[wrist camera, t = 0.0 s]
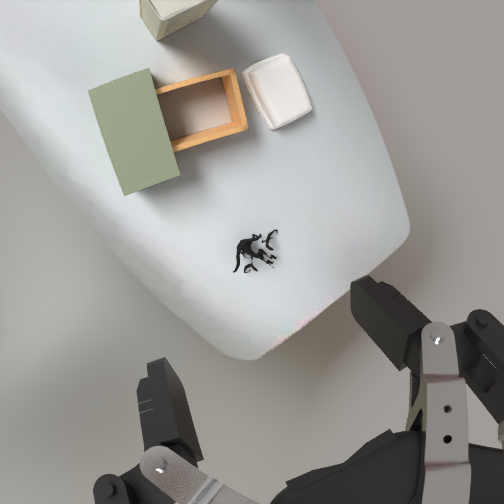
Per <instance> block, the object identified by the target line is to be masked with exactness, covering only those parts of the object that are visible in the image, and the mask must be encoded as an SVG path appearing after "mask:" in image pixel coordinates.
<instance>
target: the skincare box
mask: <svg viewBox="0 0 504 504" xmlns="http://www.w3.org/2000/svg"><path fill="white" fill-rule="evenodd" d="M217 1H218V0H139V4H140V17H141V18H142V20H143V21H144V23H145V25H146V26H147V28H148V29H149V31H150V32H151V34H152V35H153V37H154V38H155V40H156V41H159V40H160V39H162V38H164V37H166V36H168V35H170V34H172V33H174V32H175V31H177V30H179V29H181V28H183V27H185V26H187V25H189V24H191V23H193V22H195V21H196V20H198V19H200V18H202V17H203V16H204V15H205V14H206V13H207V12H208V11H209V10H210V9H211V7H212V6H213V5H214V4H215V3H216V2H217Z"/></svg>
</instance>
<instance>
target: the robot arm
mask: <svg viewBox="0 0 504 504" xmlns="http://www.w3.org/2000/svg"><path fill="white" fill-rule="evenodd" d="M350 287H351V312H352V315H353V317H354V319H355V320H356V321H357V323H358V324H359V325H360V326H361V327H362V328H363V329H364V331H365V332H366V333H367V334H368V335H369V336H370V337H371V338H372V340H373V341H374V342H375V343H376V344H377V346H378V347H379V348H380V349H381V350H382V351H383V352H384V354H385V355H386V356H387V357H388V358H389V360H390V361H391V362H392V363H393V364H394V366H395V367H396V368H397V369H398V370H399V371H401V370H402V369H404V368H405V367H408V368H409V369H410V370H411V371H410V394H409V395H410V396H409V413H408V418H407V422H406V429H405V431H402V432H397V433H392V431H391V430H390V429H389V430H387V431H385V432H384V433H382V434H381V435H379V436H377V437H376V438H374V439H372V440H370V441H369V442H367V443H366V444H364V445H363V446H362V447H361V448H360V449H359V450H358V451H357V452H356V453H355V454H353V455H352V456H351V457H350V458H349V459H348V460H347V461H345V462H344V463H341V464H338V465H334V466H330V467H325V468H320V469H316V470H312V471H310V472H307V473H305V474H303V475H301V476H298V477H296V478H294V479H291V480H289V481H286V484H287V487H286V488H285V489H283V490H282V491H281V492H280V493H279V494H277V495H276V497H275V498H274V499H273V500H272V501H271V503H270V504H504V326H503V325H502V324H501V323H500V322H499V321H498V320H497V319H496V318H495V317H494V316H493V315H492V314H491V313H490V312H488V311H486V310H481V309H478V310H474V311H472V312H471V313H470V314H469V316H468V318H467V321H466V322H462V323H459V324H455V325H452V326H448V325H446V324H444V323H441V322H431V321H430V320H429V319H428V318H427V317H426V316H425V315H424V314H423V313H422V312H420V311H419V310H418V309H417V308H416V307H415V306H414V305H413V304H412V303H411V302H410V301H407V299H406V298H405V297H404V296H403V295H401V294H400V292H399V291H398V290H396V289H395V288H394V287H393V286H391V285H389V284H387V283H384V282H382V281H381V282H379V283H376V281H374V280H373V279H372V278H371V277H370V276H368V275H366V276H364V277H361V278H359V279H357V280H355V281H353V282H351V286H350ZM483 354H484V355H485V356H486V357H487V358H486V357H485V356H484V355H483ZM489 361H490V362H491V363H492V364H493V365H494V366H495V367H494V366H493V365H492V364H491V363H490V362H489ZM147 371H148V377H146V378H144V379H140V382H139V385H138V388H137V399H138V404H139V405H138V407H139V412H140V422H141V428H142V435H143V441H144V454H143V455H142V457H141V459H140V462H139V464H138V465H137V466H135V467H134V468H133V469H131V470H129V471H128V472H126V473H124V474H122V475H121V476H119V477H118V476H116V475H113V474H106V475H103V476H101V477H100V478H99V479H98V480H97V481H96V482H95V485H94V488H93V494H94V499H95V504H174V503H176V502H177V503H179V504H259V503H257V502H255V501H253V500H251V499H249V498H248V497H246V496H244V495H242V494H240V493H238V492H237V491H235V490H233V489H232V488H230V487H228V486H226V485H225V484H223V483H221V482H220V481H217V480H216V479H214V478H212V477H210V476H209V475H207V474H205V473H204V472H202V471H201V470H199V469H198V465H197V462H198V461H201V460H203V459H204V458H203V455H202V452H201V449H200V445H199V442H198V439H197V435H196V431H195V428H194V424H193V421H192V417H191V413H190V409H189V405H188V402H187V398H186V394H185V390H184V388H183V385H182V383H181V381H180V379H179V377H178V376H177V374H176V373H175V371H174V370H173V368H172V367H171V365H170V364H169V362H168V361H167V359H166V358H165V357H164V358H161V359H158V360H155V361H152V362H149V363H147ZM465 382H466V383H465ZM466 384H468V386H469V387H470V388H471V390H472V391H473V392H474V393H475V394H476V396H477V397H478V398H479V400H480V401H481V402H482V403H483V405H484V406H485V407H486V409H487V410H488V411H489V413H490V414H491V415H492V416H493V418H494V419H495V420H496V422H497V423H498V424H499V426H498V441H499V442H500V443H501V444H502V449H497V448H492V447H486V446H481V445H476V444H471V443H468V411H467V395H466Z"/></svg>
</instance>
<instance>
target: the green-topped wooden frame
mask: <svg viewBox="0 0 504 504" xmlns="http://www.w3.org/2000/svg"><path fill="white" fill-rule="evenodd" d="M217 77H222V81H223V85H224V89H225V93H226V97H227V102H228V106H229V110H230V114H231V118H232V123H228V124H225V125H221V126H218V127H214V128H211V129H207V130H204V131H201V132H198V133H194V134H191V135H188V136H185V137H182V138H179V139H176V140H173V141H170V139H169V136H168V132H167V129H166V126H165V122H164V119H163V115H162V112H161V109H160V105H159V102H158V98H157V95H158V94H161V93H164V92H167V91H170V90H173V89H177V88H180V87H184V86H187V85H191V84H194V83H198V82H202V81H205V80H209V79H213V78H217ZM88 92H89V96H90V99H91V102H92V106H93V109H94V112H95V115H96V118H97V121H98V124H99V128H100V131H101V134H102V137H103V139H104V142H105V145H106V148H107V151H108V154H109V157H110V159H111V162H112V165H113V168H114V170H115V173H116V176H117V178H118V181H119V184H120V186H121V189H122V192H123V194H124V196H126V195H129V194H131V193H134V192H136V191H139V190H142V189H144V188H147V187H149V186H152V185H155V184H158V183H160V182H163V181H166V180H168V179H171V178H174V177H177V176H180V172H179V168H178V165H177V162H176V159H175V156H174V152H177V151H179V150H182V149H185V148H188V147H192V146H195V145H198V144H201V143H204V142H207V141H210V140H214V139H217V138H220V137H224V136H227V135H231V134H234V133H238V132H241V131H245V130H249V129H248V124H247V120H246V116H245V111H244V107H243V103H242V98H241V94H240V90H239V86H238V81H237V77H236V73H235V69H234V68H233V69H228V70H224V71H220V72H215V73H211V74H207V75H203V76H199V77H196V78H192V79H188V80H185V81H181V82H178V83H174V84H171V85H168V86H165V87H161V88H158V89H155V87H154V84H153V80H152V77H151V73H150V69H149V68H147V69H144V70H141V71H138V72H135V73H133V74H130V75H127V76H124V77H121V78H119V79H116V80H113V81H111V82H108V83H106V84H103V85H101V86H98V87H96V88H93V89H91V90H89V91H88Z"/></svg>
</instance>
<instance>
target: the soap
mask: <svg viewBox="0 0 504 504" xmlns="http://www.w3.org/2000/svg"><path fill="white" fill-rule="evenodd" d="M242 76H243V78H244V81H245V84H246V86H247V88H248V91H249V93H250V95H251V97H252V100H253V102H254V104H255V106H256V107H257V109H258V111H259V113H260V115H261V116H262V118H263V120H264V122H265V123H266V125H267V126H268V128H269V129H273V130H274V129H277V128H280V127H282V126H285V125H287V124H289V123H291V122H293V121H295V120H297V119H298V118H300V117H302V116H303V115H305V114H307V113H308V112H309V111H311V110H312V106H311V103H310V99H309V97H308V94H307V91H306V89H305V86H304V84H303V81H302V79H301V77H300V75H299V73H298V71H297V69H296V67H295V65H294V63H293V62H292V60H291V58H290V57H289V56H287V55H286V54H279V55H275V56H272V57H269V58H266V59H264V60H262V61H260V62H257V63H255V64H253V65H251V66H250V67H248V68H247V69H245V70H244V71H243V72H242ZM254 92H255V93H254Z"/></svg>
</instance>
